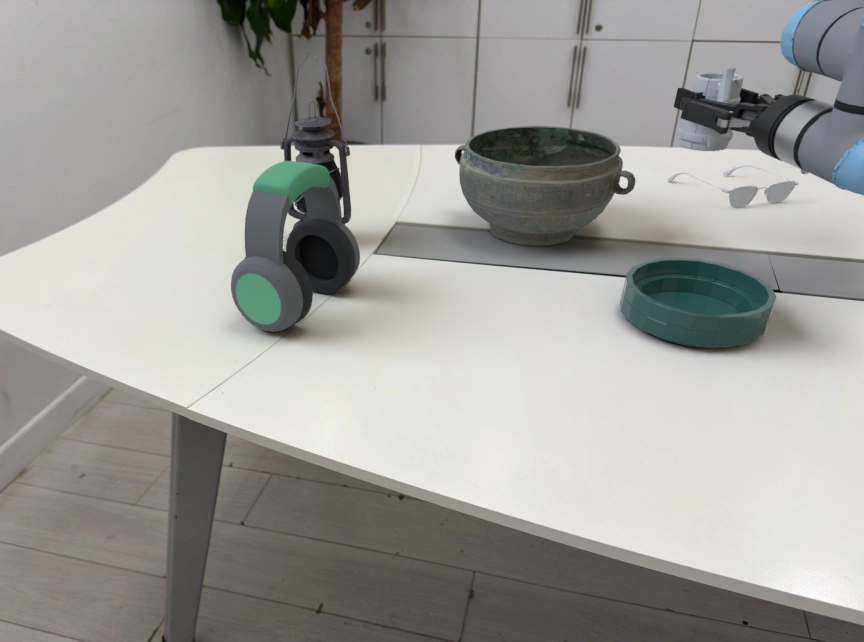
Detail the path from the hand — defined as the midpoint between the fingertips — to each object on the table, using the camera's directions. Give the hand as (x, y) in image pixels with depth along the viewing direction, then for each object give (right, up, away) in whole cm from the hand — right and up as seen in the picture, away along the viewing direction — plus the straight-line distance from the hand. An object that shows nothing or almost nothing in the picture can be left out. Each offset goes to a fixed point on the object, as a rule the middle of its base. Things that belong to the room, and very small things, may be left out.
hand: (703, 96), depth 102 cm
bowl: (-22, -17, +15) cm, 32 cm away
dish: (-9, -35, -13) cm, 38 cm away
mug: (0, -8, 0) cm, 8 cm away
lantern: (-59, -20, +14) cm, 64 cm away
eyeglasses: (+20, -6, +30) cm, 37 cm away
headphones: (-61, -33, -6) cm, 70 cm away
